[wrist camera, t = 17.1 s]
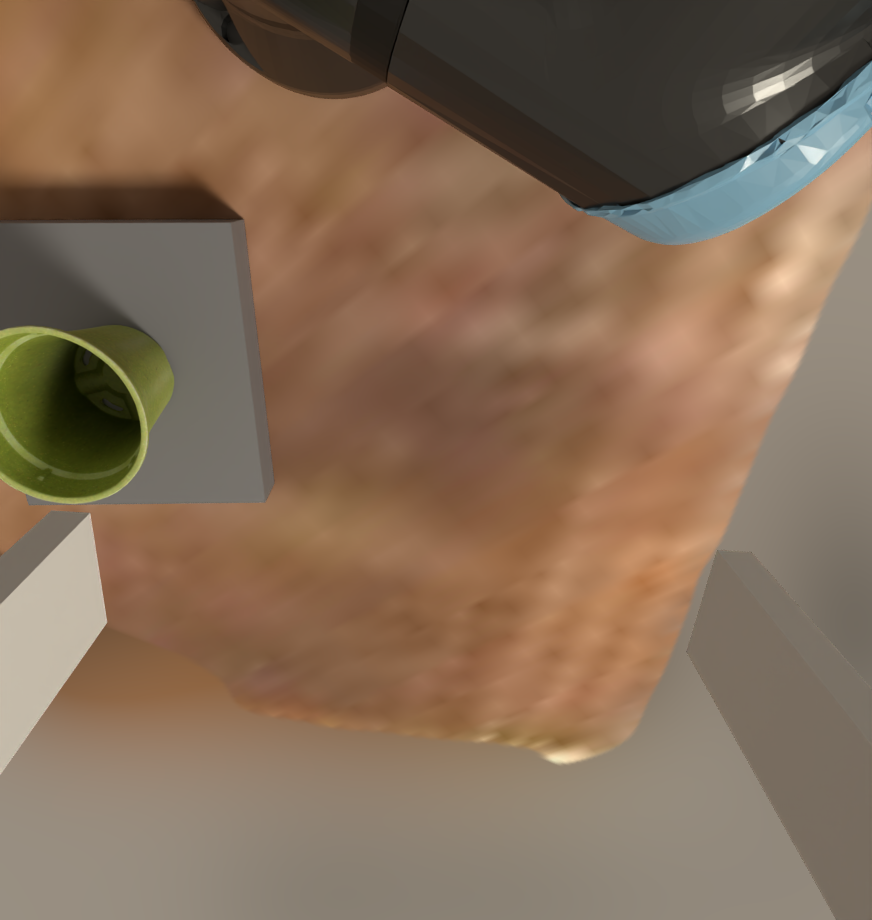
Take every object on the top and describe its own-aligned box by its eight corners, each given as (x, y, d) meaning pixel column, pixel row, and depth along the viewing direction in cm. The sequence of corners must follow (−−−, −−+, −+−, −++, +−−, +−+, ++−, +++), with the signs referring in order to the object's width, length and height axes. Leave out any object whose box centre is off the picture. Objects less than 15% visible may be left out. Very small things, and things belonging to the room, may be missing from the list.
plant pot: (28, 401, 41) (-66, 456, 33) (70, 266, 37) (-24, 290, 29) (171, 465, 43) (114, 531, 35) (223, 341, 39) (173, 384, 31)
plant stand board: (-21, 220, 39) (-54, 223, 36) (243, 219, 39) (230, 222, 37) (52, 485, 46) (28, 505, 44) (274, 483, 47) (265, 502, 44)
